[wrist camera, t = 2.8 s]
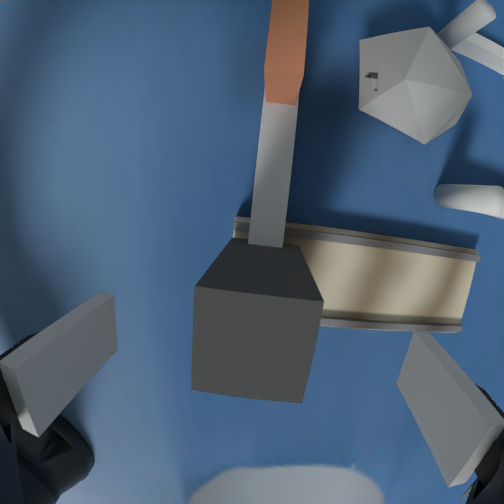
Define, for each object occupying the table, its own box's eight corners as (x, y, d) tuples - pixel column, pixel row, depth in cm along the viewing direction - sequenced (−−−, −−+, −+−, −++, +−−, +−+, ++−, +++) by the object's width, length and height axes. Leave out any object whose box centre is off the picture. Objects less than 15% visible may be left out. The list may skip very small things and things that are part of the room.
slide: (227, 310, 26) (224, 318, 25) (236, 216, 25) (233, 218, 23) (452, 328, 26) (460, 334, 24) (472, 249, 24) (481, 252, 22)
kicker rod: (228, 295, 26) (191, 389, 13) (256, 35, 21) (243, -69, 9) (288, 302, 26) (301, 402, 13) (317, 41, 21) (348, -58, 8)
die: (371, 34, 21) (333, 11, 15) (468, 49, 17) (476, 27, 10) (370, 120, 26) (333, 134, 19) (462, 140, 22) (467, 164, 15)
